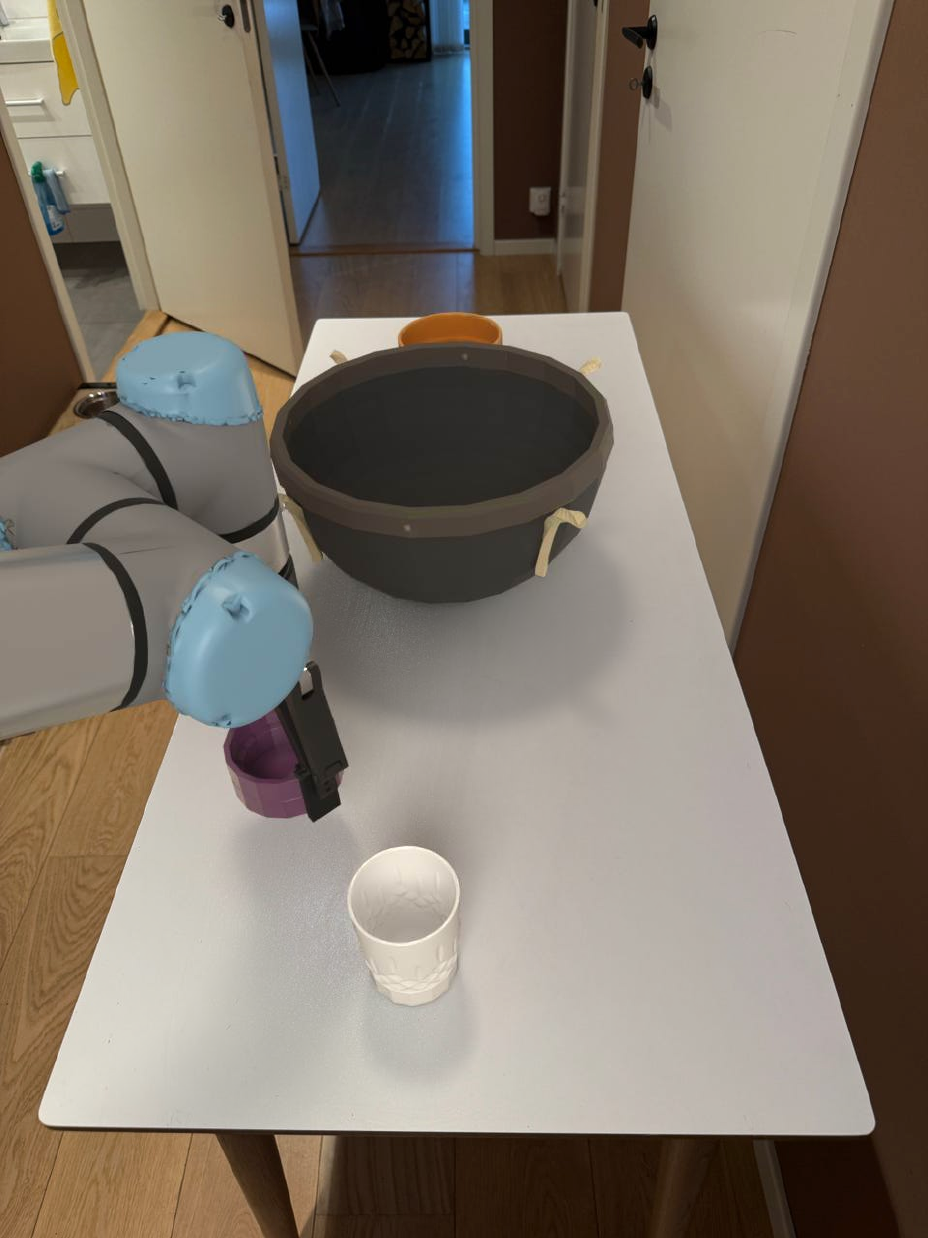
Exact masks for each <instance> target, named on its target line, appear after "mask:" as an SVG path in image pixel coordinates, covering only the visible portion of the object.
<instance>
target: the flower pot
mask: <svg viewBox="0 0 928 1238" xmlns="http://www.w3.org/2000/svg"><path fill="white" fill-rule="evenodd" d="M460 341H468V342H478V343H488V344H498V345H504V344H503V329H502V327H501V326H500V325H499V324H498V323H497V322H495V321H494V320H493V319H492V318H489V317H486V316H484V315H480V314H478V313H477V314H476V313H471V312H461V311H460V312H457V311H456V312H454V311H452V312H451V311H450V312H439V313H435V314H430V315H425V316H423V317H420V318H417V319H415V320H413V321H411V322H409V323H408V324H406V325H404V326H403V327H402V329H400V331H399V333H398V335H397V344H398V346H397V347H402V346H407V345H412V344H418V343H436V342H460Z"/></svg>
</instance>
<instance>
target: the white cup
mask: <svg viewBox="0 0 928 1238" xmlns="http://www.w3.org/2000/svg"><path fill="white" fill-rule="evenodd" d="M460 890H461V889H460V883H459V879H458V876H457V873H456V872H455V870H454V868H453V867H452V866H451V864H450V863H449V862H448V861H447V860H446V858H444V857H443V856H441V855H440V854H438V853H437V852H435V851H433V850H431V849H428V848H425V847H421V846H418V845H417V846H416V845H399V846H394V847H389V848H387V849H383V850H381V851H379V852H377V853H375V854H374V855H372V856H371V857H370V858H368V859H367V860H365V861H364V862H363V863H362V864H361V865H360V866H359V867H358V869H357V870H356V871H355V873H354V874H353V876H352V878H351V880H350V882H349V886H348V889H347V893H346V894H347V896H346V906H347V911H348V915H349V917H350V921H351V923H352V926H353V930H354V933H355V936H356V939H357V942H358V945H359V948H360V950H361V953H362V956H363V959H364V962H365V964H366V967H367V968H368V970H369V973H370V976H371V977H372V980H373V982H374V985H375V987H376V989H377V991H378V992H379V993H380V994H382V995H383V996H384V997H385V998H387V999H388V1000H390V1002H392V1003H394V1004H400V1005H404V1006H409V1007H417V1006H419V1005H420V1006H421V1005H424V1004H427V1003H432V1002H434V1001H435V1000H436V999H438V998H439V997H440V996H442V994H444V993H445V992H446V991H447V990H449V988H450V987H451V984H452V982H453V980H454V979H455V977H456V975H457V972H458V954H459V953H458V952H459V949H460V935H461V934H460V933H461V932H460V931H461V916H460V915H461V913H460V912H461V909H460V908H461V891H460Z"/></svg>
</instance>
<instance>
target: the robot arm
mask: <svg viewBox="0 0 928 1238" xmlns="http://www.w3.org/2000/svg"><path fill="white" fill-rule="evenodd" d="M114 378H115V384H116V391H115V394H116V396H117V398H118V399H119V402H117V403H116V404H115V405H112V406H110V407H108V408H106V409H104V410H101V411H100V412H99V413H98V414H97V415H95V416H93V417H91V418H87V419H86V420H83V421H80V422H79V423H76V424H74V425H72V426H70V427H68V428H64V429H63V430H60V431H58V432H56V433H54V434H52V435H49V436H46V437H45V438H43V439H40V440H38V441H35V442H33V443H31V444H29V445H26V446H24V447H22V448H20V449H18V450H15V451H13V452H11V453H8V454H6V455H4V456H1V457H0V741H4V740H9V739H13V738H15V737H20V736H23V735H27V734H31V733H34V732H39V731H43V730H46V729H51V728H54V727H59V726H61V725H65V724H70V723H75V722H77V721H81V720H85V719H89V718H92V717H93V718H94V717H97V716H101V715H104V714H108V713H112V712H116V711H120V710H125V709H130V708H135V707H139V706H142V705H146V704H150V703H153V702H157V701H169V703H170V705H171V706H172V708H173V709H174V710H176V711H177V712H178V714H180V715H183V716H187V717H190V718H192V719H194V720H195V721H197V722H199V723H201V724H204V725H206V726H207V727H214V728H222V729H224V730H225V729H230V728H236V727H241V726H244V725H247V724H250V723H252V722H254V721H256V720H258V719H260V718H261V717H263V716H264V715H266V714H267V713H269V712H270V711H272V710H273V709H274V710H275V712H276V714H277V717H278V719H279V721H280V723H281V725H282V727H283V729H284V732H285V734H286V736H287V738H288V740H289V742H290V744H291V746H292V749H293V751H294V753H295V755H296V757H297V759H298V761H299V763H298V764H296V765H295V768H296V770H295V771H294V772H293V774H294V776H295V777H296V778H297V780H299V784H300V788H301V791H302V795H303V799H304V803H305V807H306V811H307V818H308V819H309V821H311V822H312V823H313V824H314V823H316V822H318V821H319V820H321V819H322V818H323V817H325V816H326V815H327V814H329V813H331V812H332V811H334V810H335V809H337V808H339V807H340V806H341V805H342V802H341V796H340V791H339V787H337V782H336V778H335V775H336V774H338V773H339V772H341V771H342V770H344V771H345V769H347V768H348V767H349V762H348V759H347V756H346V753H345V751H344V750H345V749H344V747H343V744H342V741H341V738H340V735H339V732H338V729H336V728H337V725H336V722H335V723H334V721H335V719H334V720H333V718H334V716H333V714H332V712H331V708H330V705H329V703H328V699H327V697H326V694H325V690H324V687H323V679H322V673H321V668H320V666H319V665H318V664H317V663H316V661H314V660H310V661H309V659H310V649H311V647H312V644H313V641H312V639H313V638H314V620H313V616H312V611H311V608H310V606H309V603H308V601H307V600H306V598H305V597H304V595H303V593H302V592H301V591H300V587H299V582H298V579H297V573H296V568H295V563H294V559H293V556H292V555H291V553H290V546H289V540H288V535H287V530H286V525H285V521H284V517H283V512H284V511H285V510H286V509H285V503H284V502H283V501H282V500H281V499H279V497H278V493H279V492H278V487H277V486H278V485H277V482H276V481H277V480H276V476H275V470H274V466H273V463H272V460H271V456H270V446H269V441H268V436H267V431H266V427H265V422H264V415H265V412H264V408H263V405H262V404H261V401H260V398H259V394H258V392H257V391H258V390H257V387H256V383H255V379H254V375H253V374H252V371H251V369H250V365H249V362H248V359H247V357H246V355H245V353H244V351H243V350H242V349H241V347H240V346H238V344H237V343H235V342H234V341H232V340H231V339H228V338H225V337H222V336H220V334H216V333H214V332H213V333H212V332H208V331H199V330H197V331H196V330H189V331H186V330H185V331H176V332H168V333H164V334H161V335H156V336H153V337H150V338H146V339H145V340H143V341H140V342H138V343H136V344H135V345H133V346H132V347H131V348H130V350H129V352H127V353H125V354H122V355H121V357H119V359H118V361H117V362H116V365H115V369H114ZM335 725H336V726H335Z"/></svg>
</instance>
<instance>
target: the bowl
mask: <svg viewBox="0 0 928 1238" xmlns="http://www.w3.org/2000/svg"><path fill="white" fill-rule="evenodd" d="M329 358H330V359H332V360H333V362H334V363H335V365H333V366H331V367H330V368H328V369H326V370H324V371H323V372H321V373H320V374H318V375H316V376H315V377H313V378H312V379H310V380H308V381H306V382H305V383H303V384H301V385H300V386H299V387H298V389H297V390H296V391H295V392H294V393H293V394H292V395H291V397H289V398H288V400H286V401H285V403H284V404H283V405H282V406H281V407H280V408H279V410H277V413H276V415H275V419H274V423H273V425H272V429H271V433H270V437H269V438H268V439H269V441H268V445H269V452H270V456H271V461H272V466H273V470H274V473H275V475H276V478H277V481H278V484H279V486H280V487H281V488H282V489H283V490H284V492H285V493H281V492H278V497H279V499H281V500H282V501H283V502H284V503H285V510H286V511H288V512H289V514H290V516H291V517H292V519H293V521H294V523H295V525H296V526H297V529H298V531H299V533H300V535H301V537H302V539H303V542H304V543H305V546H306V548H307V550H308V552H309V555H310V557H311V560H312V563H314V564H315V563H321V562H323V559H324V555H325V556H326V558H328V559H329V560H330V561H331V562H332V563H333V564H334V565H336V566H337V567H338V568H339V569H340V570H341V571H343V572H344V573H345V574H346V575H347V576H349V577H350V578H351V579H353V580H355V581H357V582H359V583H361V584H364V585H365V586H368V587H370V588H372V589H374V590H377V591H379V592H381V593H383V594H386V595H388V596H390V597H392V598H395V599H401V600H407V601H412V602H417V603H423V604H428V605H430V604H431V605H433V604H435V605H436V604H460V603H461V604H462V603H469V602H473V601H477V600H481V599H485V598H490V597H494V596H497V595H501V594H503V593H505V592H508V591H510V590H511V589H513V588H515V587H516V586H519V585H521V584H522V583H524V582H526V581H528V580H531V579H532V578H534V577H535V576H539V577H543V578H545V576H546V574H547V572H548V566H549V565H550V564H551V563H552V562H553V561H554V560H555V559H556V558H557V557H558V556H559V555H560V554H561V553H562V552H563V551H564V550H565V549H566V548H567V547H568V546H569V545H570V544H571V542H572V541H573V540H574V539H575V538H576V537H577V536H578V535H579V533H580V532H581V530H582V528H584V527H585V526H586V525H587V524H588V523H589V520H588V518H589V516H590V513H591V511H592V508H593V505H594V502H595V500H596V498H597V494H598V492H599V489H600V487H601V483H602V482H603V478H604V475H605V473H606V469H607V465H608V461H609V459H610V455H611V454H612V451H613V448H614V445H615V434H614V424H613V420H612V416H611V413H610V408H609V404H608V400H607V398H606V397H605V396H604V395H603V394H602V393H601V392H600V391H599V390H598V389H597V387H596V386H595V385H594V384H593V383H592V381H590V380H589V379H588V378H587V377H586V376H587V375H589V374H591V373H592V372H594V371H598V370H599V369H600V368H601V367H602V366H603V363H602V361H601V359H600V357H592V358H591V359H589V360H587V361H586V362H585V363H584V364H583V365H582V366H581V367H580V368H579V369H578V370H576V369H574V368H573V367H571V366H569V365H568V364H565V363H564V362H561V361H559V360H557V359H555V358H554V357H551V356H550V355H545V354H542V353H539V352H535V351H532V350H528V349H523V348H520V347H516V346H513V345H506V344H502V345H498V344H488V343H478V342H468V341H460V342H436V343H418V344H412V345H407V346H402V347H399V346H396V347H391V348H386V349H381V350H375V351H372V352H369V353H366V354H363V355H360V356H358V357H355V358H352V359H349V360H348V358H347V357H346V356H345V354H344V353H342V352H341V351H340V350H338V349H333V351H332V352H331V353H330V355H329Z"/></svg>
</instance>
